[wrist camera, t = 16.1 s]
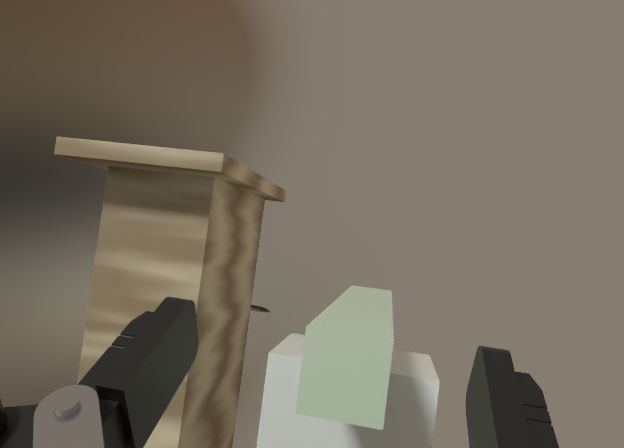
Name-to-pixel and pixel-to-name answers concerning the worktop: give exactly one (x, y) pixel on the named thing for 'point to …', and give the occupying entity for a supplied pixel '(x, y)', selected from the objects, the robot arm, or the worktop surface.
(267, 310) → the worktop surface
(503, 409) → the robot arm
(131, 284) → the stand
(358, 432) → the pedestal
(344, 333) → the bar
